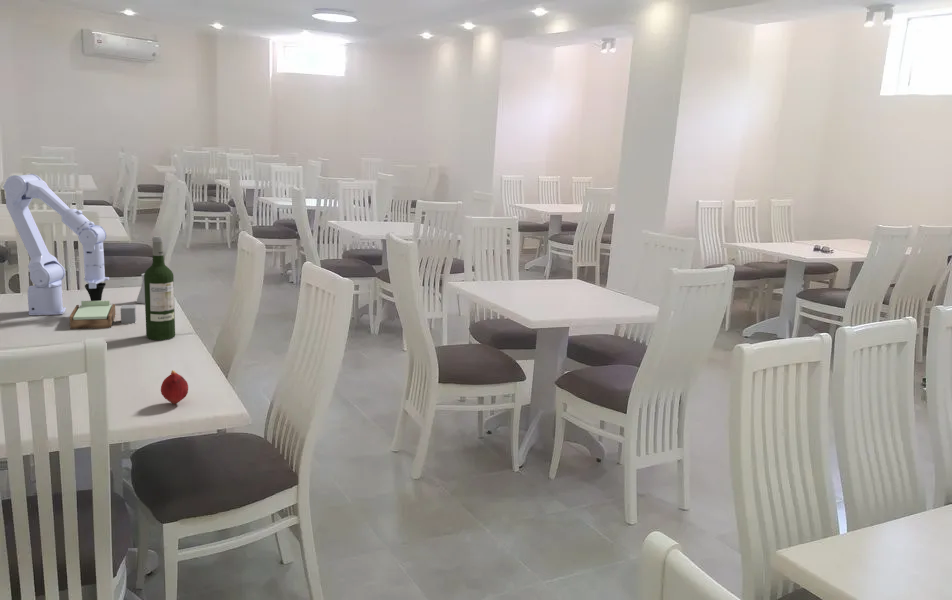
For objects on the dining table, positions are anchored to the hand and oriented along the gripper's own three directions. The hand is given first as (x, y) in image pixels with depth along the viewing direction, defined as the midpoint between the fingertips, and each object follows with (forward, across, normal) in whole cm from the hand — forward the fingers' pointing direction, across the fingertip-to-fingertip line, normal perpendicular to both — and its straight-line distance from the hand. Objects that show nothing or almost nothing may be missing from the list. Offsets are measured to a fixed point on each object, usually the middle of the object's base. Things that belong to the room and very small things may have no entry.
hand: (96, 305), depth 237 cm
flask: (+3, +18, -14) cm, 23 cm away
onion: (+3, -86, -25) cm, 89 cm away
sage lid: (0, -8, 0) cm, 9 cm away
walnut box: (+3, -8, 0) cm, 9 cm away
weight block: (+3, -10, -10) cm, 14 cm away
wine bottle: (+3, -28, -20) cm, 35 cm away
